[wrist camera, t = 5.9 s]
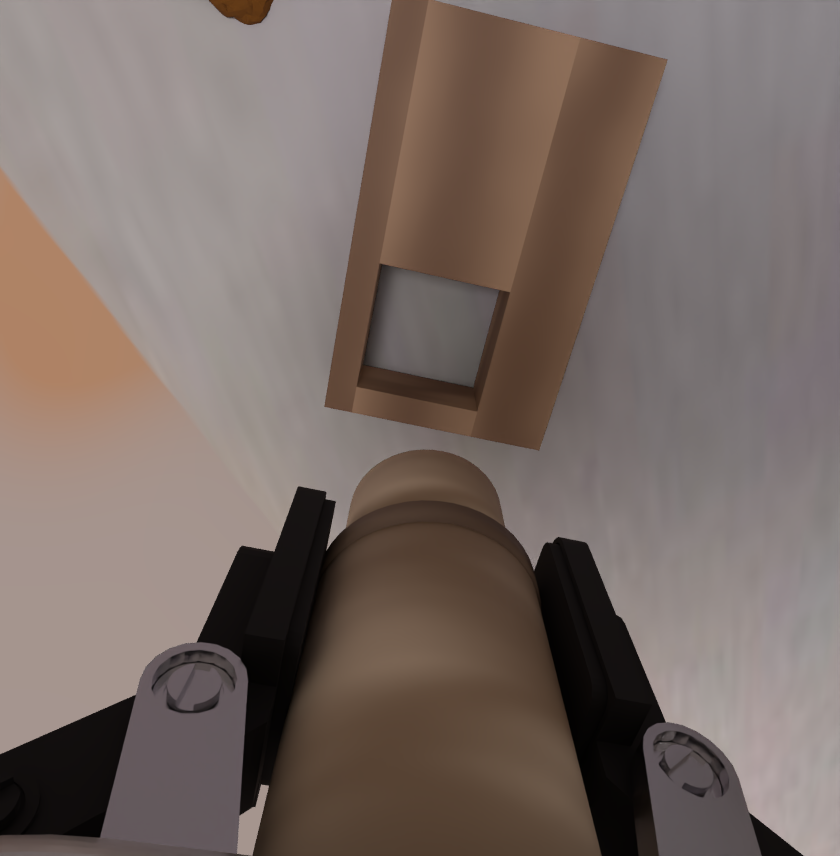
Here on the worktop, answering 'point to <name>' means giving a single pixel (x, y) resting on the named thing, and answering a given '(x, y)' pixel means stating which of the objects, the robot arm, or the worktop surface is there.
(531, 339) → the board
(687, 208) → the worktop surface
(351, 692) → the peg
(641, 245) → the worktop surface
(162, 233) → the worktop surface
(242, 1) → the primitive tool
